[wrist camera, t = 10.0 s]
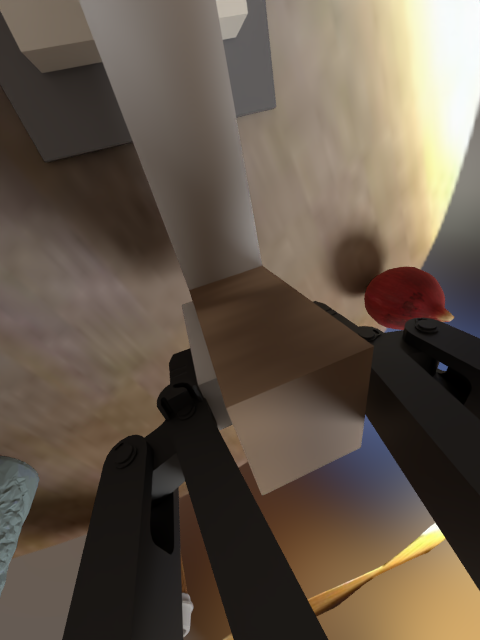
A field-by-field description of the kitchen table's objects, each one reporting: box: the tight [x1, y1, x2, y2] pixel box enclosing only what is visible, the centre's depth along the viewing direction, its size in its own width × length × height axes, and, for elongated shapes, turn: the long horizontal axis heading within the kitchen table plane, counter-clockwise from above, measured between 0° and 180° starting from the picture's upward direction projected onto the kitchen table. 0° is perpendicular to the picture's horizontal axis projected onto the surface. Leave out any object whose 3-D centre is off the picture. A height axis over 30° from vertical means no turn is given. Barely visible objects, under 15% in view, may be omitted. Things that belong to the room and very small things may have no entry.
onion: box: [364, 267, 454, 330], centre depth 21 cm, size 6×6×8 cm
